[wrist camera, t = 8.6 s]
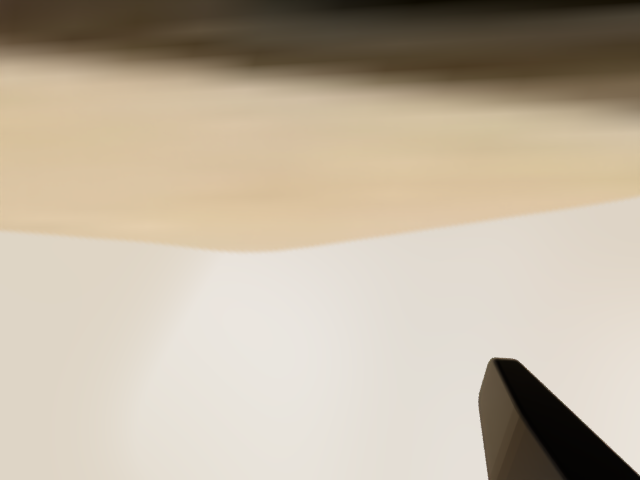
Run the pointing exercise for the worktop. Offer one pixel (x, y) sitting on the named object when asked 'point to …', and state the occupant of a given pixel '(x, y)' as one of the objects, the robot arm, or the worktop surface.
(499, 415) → the robot arm
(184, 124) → the worktop surface
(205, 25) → the worktop surface
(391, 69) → the worktop surface
